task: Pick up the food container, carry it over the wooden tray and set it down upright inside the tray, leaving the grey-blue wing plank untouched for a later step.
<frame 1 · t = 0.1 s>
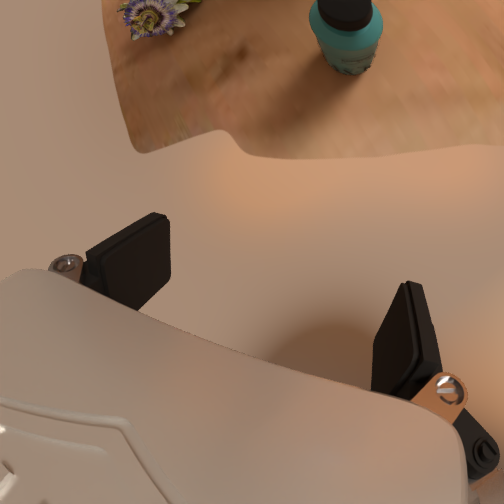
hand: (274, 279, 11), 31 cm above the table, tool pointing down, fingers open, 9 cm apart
beverage bottle: (349, 56, 30), on the table
passion flower: (172, 12, 33), on the table
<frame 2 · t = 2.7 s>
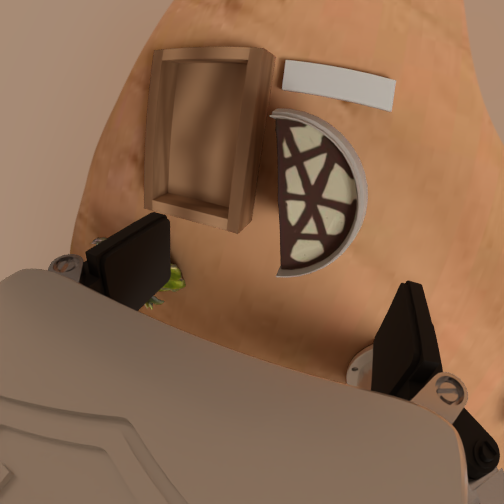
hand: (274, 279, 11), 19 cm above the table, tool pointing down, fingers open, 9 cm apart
food container: (333, 175, 26), on the table
wing plank: (339, 85, 23), on the table
wooden tray: (211, 132, 28), on the table
passion flower: (152, 252, 39), on the table
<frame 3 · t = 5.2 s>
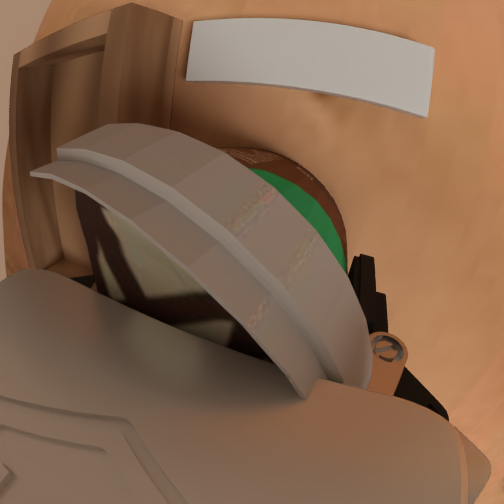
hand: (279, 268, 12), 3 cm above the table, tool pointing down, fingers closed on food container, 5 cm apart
food container: (307, 251, 14), on the table, touching gripper
wing plank: (309, 60, 10), on the table
wooden tray: (97, 169, 16), on the table
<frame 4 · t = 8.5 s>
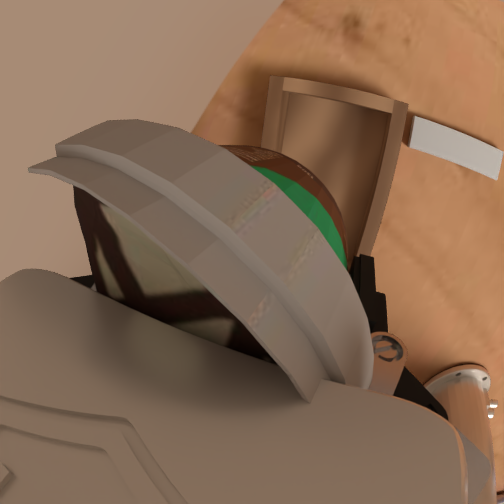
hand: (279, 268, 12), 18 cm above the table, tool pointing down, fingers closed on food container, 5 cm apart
food container: (307, 249, 14), point 15 cm above the table, touching gripper
wing plank: (455, 146, 21), on the table
wooden tray: (325, 177, 27), on the table
ramen bowl: (489, 497, 46), on the table
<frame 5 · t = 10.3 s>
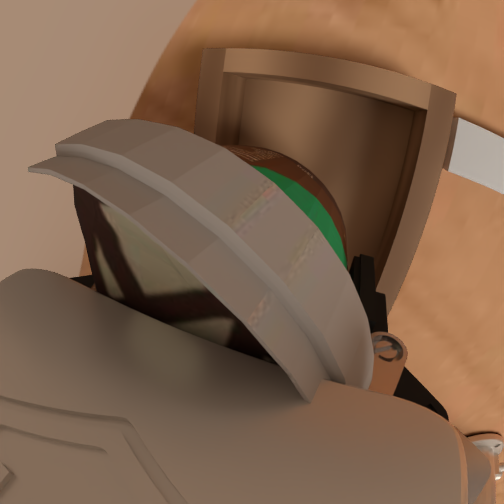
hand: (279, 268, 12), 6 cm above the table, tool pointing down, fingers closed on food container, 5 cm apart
food container: (307, 249, 14), point 4 cm above the table, touching gripper
wooden tray: (307, 217, 17), on the table
when the fingers open (5 cm above the table, at t = 11.6 s): food container drops 1 cm, resting on wooden tray.
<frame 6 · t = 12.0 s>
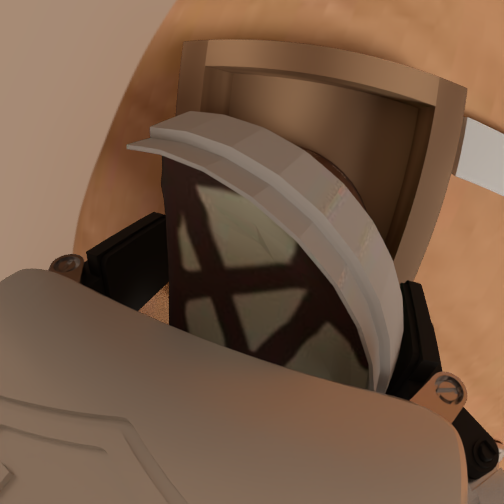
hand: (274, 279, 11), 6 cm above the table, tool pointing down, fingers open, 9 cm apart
food container: (332, 242, 15), point 1 cm above the table, touching wooden tray, gripper
wooden tray: (301, 224, 16), on the table
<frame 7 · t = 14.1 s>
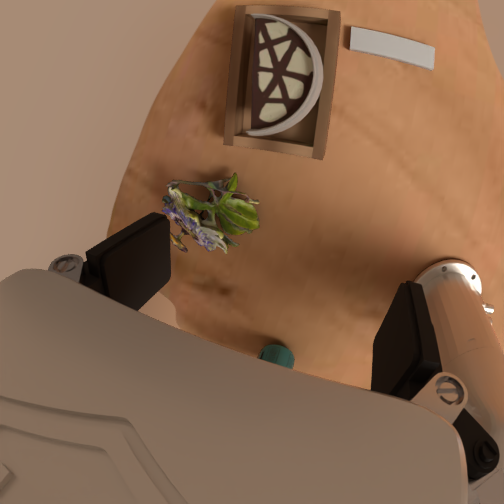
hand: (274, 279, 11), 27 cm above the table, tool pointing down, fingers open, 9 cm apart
food container: (301, 82, 29), point 1 cm above the table, touching wooden tray
wing plank: (391, 48, 24), on the table
beverage bottle: (280, 349, 51), on the table
wooden tray: (286, 78, 30), on the table
passion flower: (220, 199, 40), on the table
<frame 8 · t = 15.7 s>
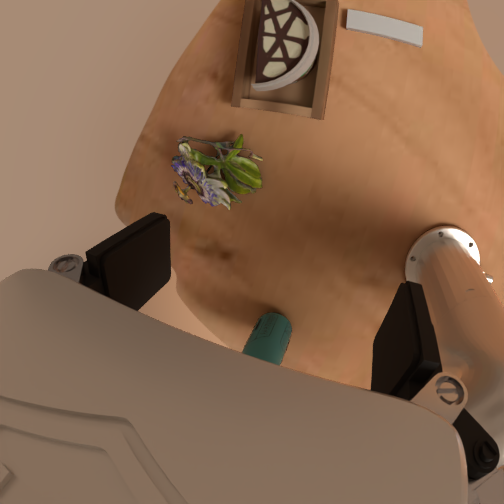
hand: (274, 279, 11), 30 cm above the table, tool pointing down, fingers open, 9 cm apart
food container: (302, 55, 31), point 1 cm above the table, touching wooden tray
wing plank: (384, 29, 26), on the table
beverage bottle: (278, 320, 51), on the table
wooden tray: (289, 52, 31), on the table
passion flower: (226, 162, 42), on the table
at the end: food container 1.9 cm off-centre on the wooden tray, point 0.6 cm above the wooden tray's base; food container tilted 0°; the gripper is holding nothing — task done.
